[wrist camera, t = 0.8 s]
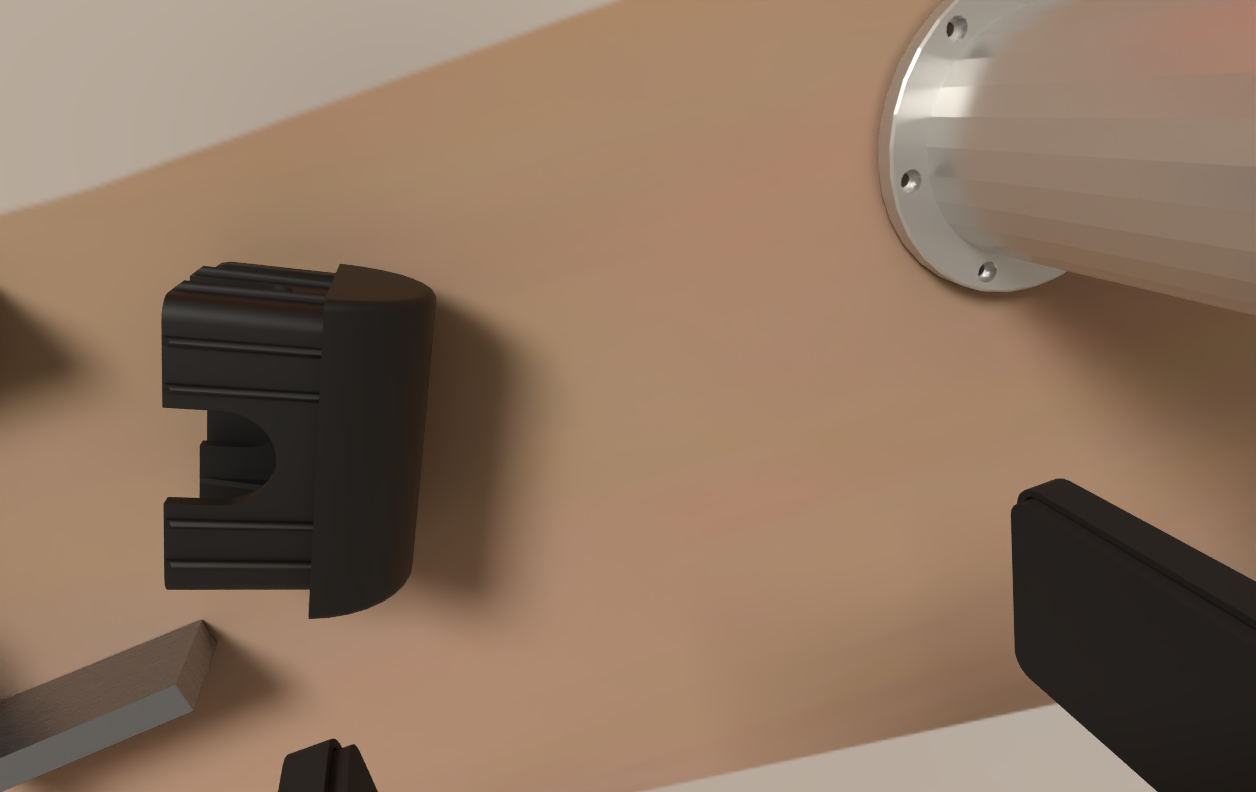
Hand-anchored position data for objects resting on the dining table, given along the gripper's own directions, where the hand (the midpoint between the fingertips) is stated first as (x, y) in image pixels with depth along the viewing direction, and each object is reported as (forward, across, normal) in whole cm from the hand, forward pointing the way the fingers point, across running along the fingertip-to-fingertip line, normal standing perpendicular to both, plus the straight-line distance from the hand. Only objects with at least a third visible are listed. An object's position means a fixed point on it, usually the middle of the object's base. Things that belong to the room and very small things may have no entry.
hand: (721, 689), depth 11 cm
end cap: (+21, +7, +1) cm, 22 cm away
